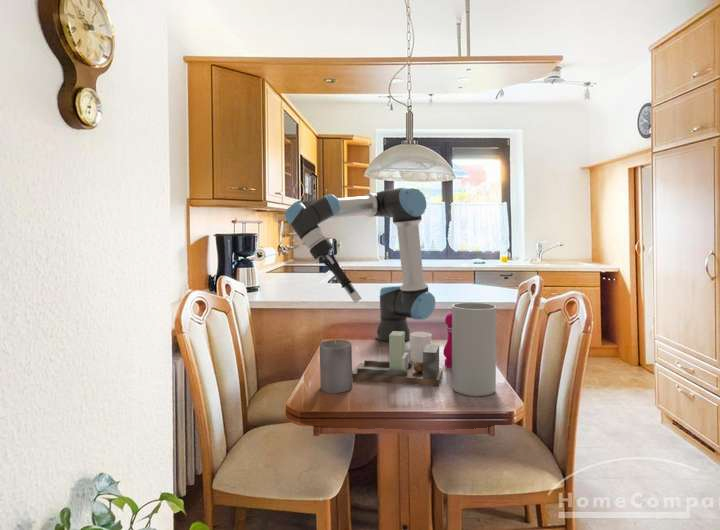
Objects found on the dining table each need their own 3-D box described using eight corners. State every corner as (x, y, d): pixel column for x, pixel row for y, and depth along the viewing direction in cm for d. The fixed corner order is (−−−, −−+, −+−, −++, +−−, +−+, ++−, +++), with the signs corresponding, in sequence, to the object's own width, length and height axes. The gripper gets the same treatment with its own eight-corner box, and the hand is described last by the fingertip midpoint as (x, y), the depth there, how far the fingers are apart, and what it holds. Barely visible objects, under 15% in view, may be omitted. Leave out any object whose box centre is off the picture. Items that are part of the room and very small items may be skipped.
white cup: (435, 360, 167) (435, 333, 166) (425, 365, 160) (425, 337, 159) (415, 357, 171) (415, 330, 170) (405, 362, 165) (405, 334, 164)
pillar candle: (328, 381, 145) (327, 334, 144) (357, 384, 141) (356, 336, 140) (314, 391, 136) (313, 342, 135) (345, 395, 132) (343, 344, 131)
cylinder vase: (468, 380, 144) (468, 301, 142) (503, 389, 135) (504, 305, 133) (443, 389, 136) (443, 306, 134) (479, 400, 127) (480, 311, 125)
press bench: (350, 379, 146) (349, 348, 145) (360, 368, 158) (359, 340, 157) (439, 386, 139) (439, 353, 138) (442, 374, 150) (442, 344, 150)
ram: (389, 372, 145) (388, 335, 144) (393, 366, 152) (393, 330, 151) (404, 373, 144) (404, 336, 143) (408, 367, 151) (408, 331, 150)
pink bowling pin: (464, 368, 156) (464, 310, 155) (443, 367, 157) (443, 310, 156) (464, 362, 163) (464, 307, 162) (443, 361, 165) (443, 306, 163)
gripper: (309, 253, 161) (348, 307, 160) (307, 247, 148) (350, 307, 147) (326, 241, 162) (365, 295, 161) (326, 234, 149) (369, 293, 148)
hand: (358, 300), depth 154 cm, fingers closed
